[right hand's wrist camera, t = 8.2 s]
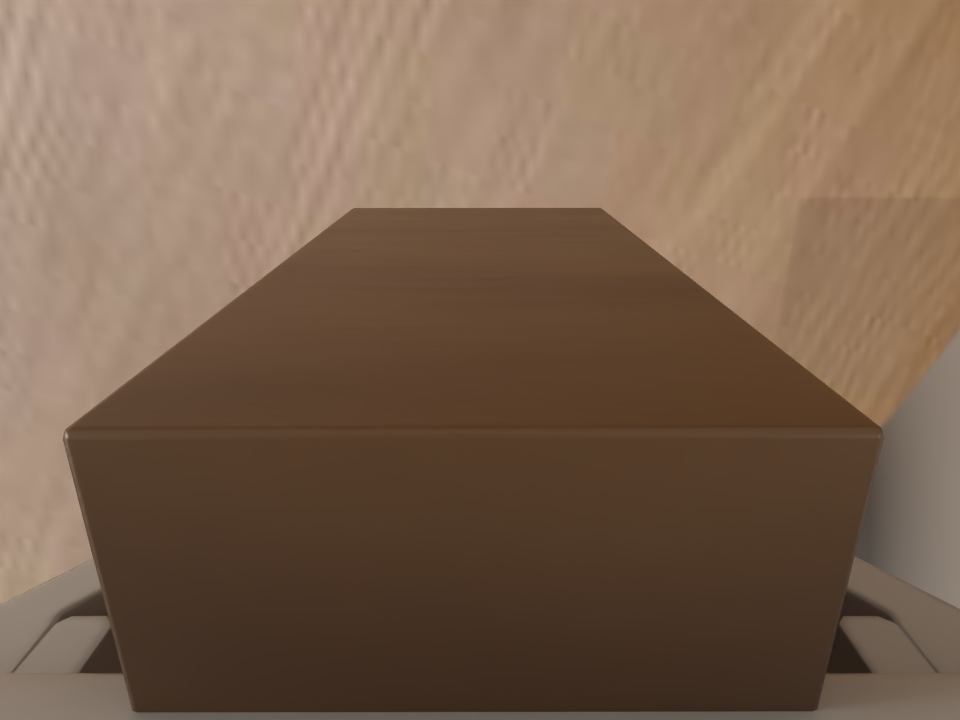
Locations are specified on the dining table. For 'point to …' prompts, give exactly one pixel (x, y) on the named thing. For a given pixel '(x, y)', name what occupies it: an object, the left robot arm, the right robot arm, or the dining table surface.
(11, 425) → the dining table surface
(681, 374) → the bar
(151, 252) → the dining table surface
